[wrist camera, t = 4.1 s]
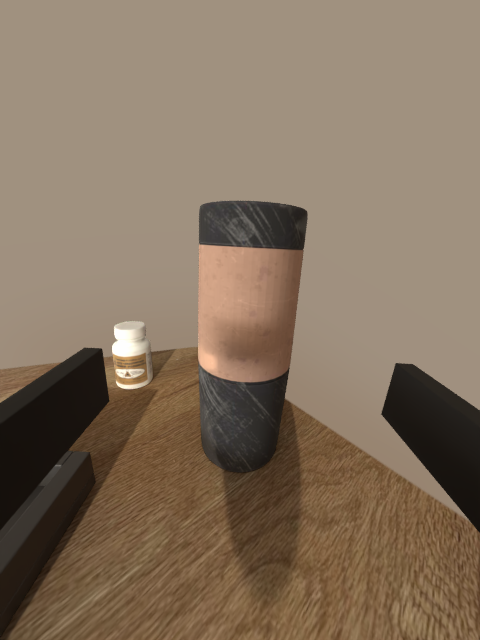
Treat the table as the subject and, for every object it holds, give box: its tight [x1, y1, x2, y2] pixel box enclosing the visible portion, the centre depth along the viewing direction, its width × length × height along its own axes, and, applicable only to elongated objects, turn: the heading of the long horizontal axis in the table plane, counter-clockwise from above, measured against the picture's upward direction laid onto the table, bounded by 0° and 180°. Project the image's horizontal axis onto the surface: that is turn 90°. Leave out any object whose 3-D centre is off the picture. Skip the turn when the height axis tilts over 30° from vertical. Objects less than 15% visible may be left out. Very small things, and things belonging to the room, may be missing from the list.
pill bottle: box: [112, 321, 153, 389], centre depth 30 cm, size 4×4×8 cm
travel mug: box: [198, 201, 307, 472], centre depth 19 cm, size 8×8×20 cm
